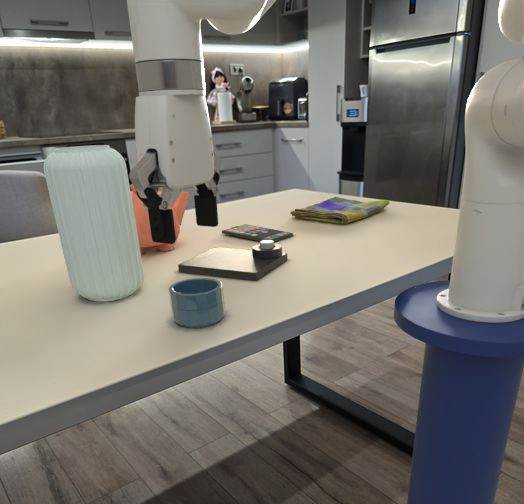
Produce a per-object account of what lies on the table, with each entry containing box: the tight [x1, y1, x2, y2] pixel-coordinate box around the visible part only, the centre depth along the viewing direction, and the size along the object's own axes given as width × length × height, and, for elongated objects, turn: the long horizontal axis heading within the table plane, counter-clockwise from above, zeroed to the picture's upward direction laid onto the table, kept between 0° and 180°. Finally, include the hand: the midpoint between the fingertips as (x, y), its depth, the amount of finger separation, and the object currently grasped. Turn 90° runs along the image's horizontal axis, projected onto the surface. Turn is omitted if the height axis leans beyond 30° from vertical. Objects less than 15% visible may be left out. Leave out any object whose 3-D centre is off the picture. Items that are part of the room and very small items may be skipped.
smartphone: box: [221, 223, 294, 243], centre depth 110 cm, size 8×15×1 cm, turn 48°
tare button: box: [259, 240, 275, 249], centre depth 89 cm, size 3×3×1 cm
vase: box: [43, 144, 145, 303], centre depth 74 cm, size 12×12×22 cm
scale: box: [177, 242, 288, 282], centre depth 89 cm, size 16×13×3 cm
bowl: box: [168, 277, 226, 329], centre depth 66 cm, size 7×7×5 cm
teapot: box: [129, 183, 191, 255], centre depth 101 cm, size 16×17×14 cm
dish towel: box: [290, 196, 390, 225], centre depth 128 cm, size 18×24×3 cm
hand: (187, 233), depth 62 cm, fingers open, 9 cm apart
